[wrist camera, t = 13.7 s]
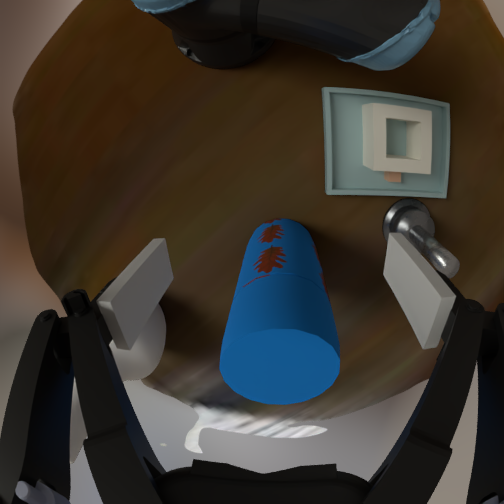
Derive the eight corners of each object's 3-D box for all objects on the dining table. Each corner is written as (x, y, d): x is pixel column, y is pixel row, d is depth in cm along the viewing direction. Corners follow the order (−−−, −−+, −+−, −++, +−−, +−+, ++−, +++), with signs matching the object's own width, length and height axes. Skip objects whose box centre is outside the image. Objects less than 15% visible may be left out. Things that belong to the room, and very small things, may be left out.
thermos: (304, 208, 42) (331, 311, 19) (322, 268, 46) (349, 392, 23) (237, 229, 44) (195, 341, 22) (260, 285, 48) (243, 410, 26)
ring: (361, 104, 33) (372, 102, 29) (415, 111, 32) (431, 111, 28) (362, 178, 38) (372, 185, 34) (414, 180, 37) (429, 188, 33)
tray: (321, 88, 34) (323, 87, 32) (443, 103, 31) (449, 103, 30) (325, 191, 40) (327, 194, 38) (440, 195, 38) (446, 198, 36)
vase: (153, 351, 59) (94, 483, 27) (95, 306, 55) (9, 424, 24) (191, 313, 52) (124, 483, 21) (123, 258, 49) (3, 401, 17)
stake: (384, 197, 39) (428, 233, 26) (431, 199, 38) (483, 233, 25) (379, 250, 43) (413, 302, 30) (424, 249, 42) (466, 296, 29)
